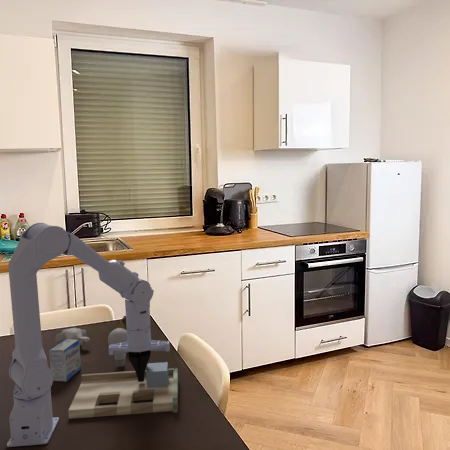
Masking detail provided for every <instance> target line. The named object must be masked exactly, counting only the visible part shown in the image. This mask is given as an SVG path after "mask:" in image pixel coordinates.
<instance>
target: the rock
mask: <svg viewBox="0 0 450 450" xmlns="http://www.w3.org/2000/svg"><path fill="white" fill-rule="evenodd" d="M117 328H122V329H125V330H126V331H127V327H126V315H124V316H123V317H122V318H121V319H120V320H119V321H118V322H117V323H116V324H115V327H114V329H113V330H115V329H117Z"/></svg>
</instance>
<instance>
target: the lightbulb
mask: <svg viewBox="0 0 450 450" xmlns="http://www.w3.org/2000/svg"><path fill="white" fill-rule="evenodd" d="M114 329H115V328H114ZM114 329H113V330H112V331H110V333H109V334H108V337H107V343H108V347H109V346H110V345H112V344H119V343H124V342H127V331H126V330H125V329H122V328H117V329H115V330H114ZM113 356H114V360H115V365H116V367H119V368H122V367H123V366H125V365H126V357H127V353H118V354H114V355H113Z"/></svg>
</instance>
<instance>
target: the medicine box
mask: <svg viewBox="0 0 450 450" xmlns="http://www.w3.org/2000/svg"><path fill="white" fill-rule="evenodd" d="M80 346H81V345H80ZM80 346H79V340H73V339H66V340H64V341H63V342H61V343H58V344H56V345H55V346H53V347H52V348H51V349H49V350H48V351H49V352H48V353H49V365H50V367H49V368H50V370H51V371H52V373H53V382H65V383H67V382H68V381H69V380H70V379H72V378H73V377H74V376H75V375H76V374H77V373H78V372H79V371H81V370H82V362H81V360H82V359H81V348H80Z"/></svg>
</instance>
